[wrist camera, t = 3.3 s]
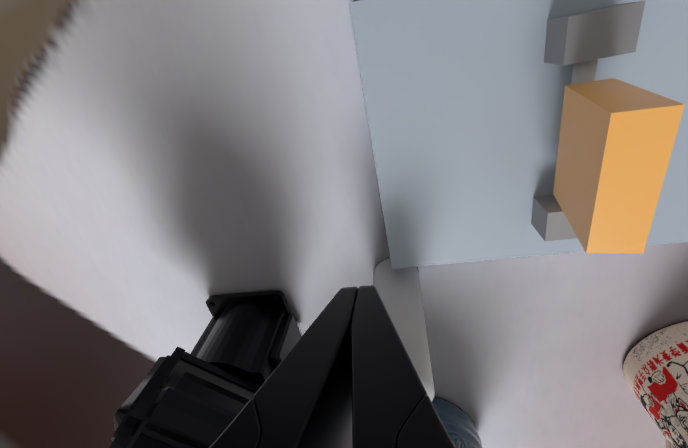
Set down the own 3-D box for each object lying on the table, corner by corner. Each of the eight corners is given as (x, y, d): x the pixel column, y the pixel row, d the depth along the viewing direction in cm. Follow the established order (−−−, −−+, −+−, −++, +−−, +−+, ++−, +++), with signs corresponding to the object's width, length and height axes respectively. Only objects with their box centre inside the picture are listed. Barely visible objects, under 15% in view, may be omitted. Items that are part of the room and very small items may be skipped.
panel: (391, 246, 23) (392, 288, 19) (353, 7, 16) (344, -2, 12) (703, 213, 19) (779, 257, 15) (818, -109, 13) (1000, -170, 9)
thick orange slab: (553, 193, 15) (585, 253, 12) (565, 85, 13) (611, 113, 9) (593, 191, 15) (643, 253, 11) (613, 77, 13) (684, 104, 9)
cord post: (377, 294, 25) (373, 412, 17) (370, 259, 23) (362, 371, 16) (420, 290, 24) (436, 411, 16) (416, 255, 23) (432, 369, 15)
